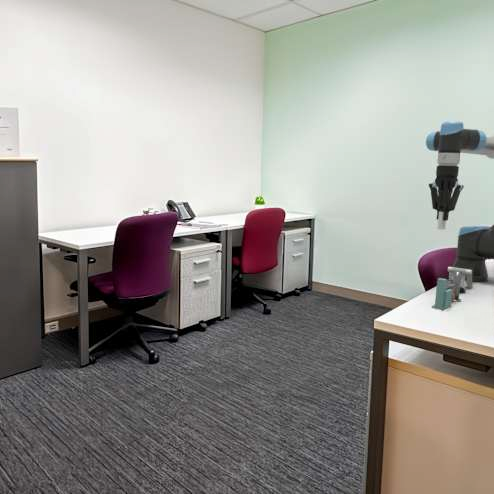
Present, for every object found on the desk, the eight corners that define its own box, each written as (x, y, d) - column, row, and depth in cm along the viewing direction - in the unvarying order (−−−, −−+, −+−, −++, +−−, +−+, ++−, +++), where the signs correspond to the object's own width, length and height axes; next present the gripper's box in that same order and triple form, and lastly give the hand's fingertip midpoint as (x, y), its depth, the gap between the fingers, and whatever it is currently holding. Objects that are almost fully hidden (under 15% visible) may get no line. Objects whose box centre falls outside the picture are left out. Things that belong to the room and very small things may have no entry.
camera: (456, 294, 179) (457, 284, 178) (436, 288, 188) (437, 278, 188) (466, 294, 181) (467, 283, 180) (446, 287, 190) (447, 277, 189)
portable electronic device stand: (472, 288, 190) (475, 267, 189) (467, 291, 184) (470, 270, 183) (450, 284, 195) (452, 264, 194) (444, 287, 189) (447, 267, 188)
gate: (450, 299, 169) (452, 282, 168) (454, 300, 167) (456, 283, 166) (437, 304, 161) (439, 287, 160) (442, 305, 160) (444, 288, 159)
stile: (439, 304, 164) (442, 275, 162) (450, 306, 161) (453, 278, 160) (431, 307, 159) (434, 278, 158) (443, 310, 157) (446, 280, 155)
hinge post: (451, 298, 172) (454, 270, 171) (462, 300, 170) (465, 272, 168) (447, 300, 170) (450, 271, 168) (458, 302, 167) (461, 273, 165)
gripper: (426, 164, 176) (419, 227, 180) (458, 165, 165) (451, 231, 169) (437, 165, 180) (431, 226, 184) (470, 165, 170) (463, 230, 173)
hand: (441, 229), depth 176 cm, fingers closed
